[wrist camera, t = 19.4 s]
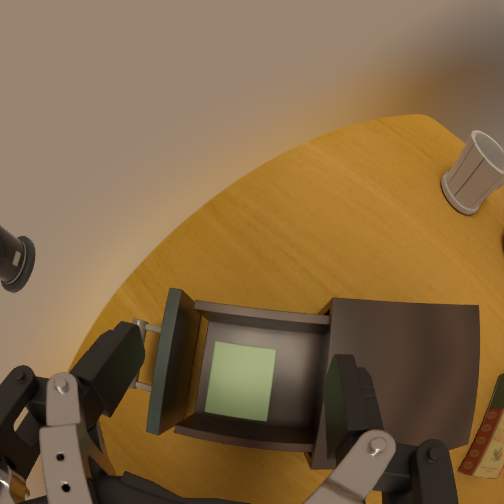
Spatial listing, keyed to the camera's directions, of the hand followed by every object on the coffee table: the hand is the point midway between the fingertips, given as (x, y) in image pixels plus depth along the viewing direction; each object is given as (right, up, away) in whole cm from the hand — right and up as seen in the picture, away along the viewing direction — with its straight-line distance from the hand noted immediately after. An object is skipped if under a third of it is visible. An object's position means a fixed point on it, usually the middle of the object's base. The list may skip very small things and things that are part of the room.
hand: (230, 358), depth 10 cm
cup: (+38, +15, +26) cm, 48 cm away
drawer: (-1, -9, +17) cm, 19 cm away
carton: (+38, -22, +10) cm, 45 cm away
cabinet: (+15, -11, +16) cm, 25 cm away
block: (0, -9, +16) cm, 18 cm away
